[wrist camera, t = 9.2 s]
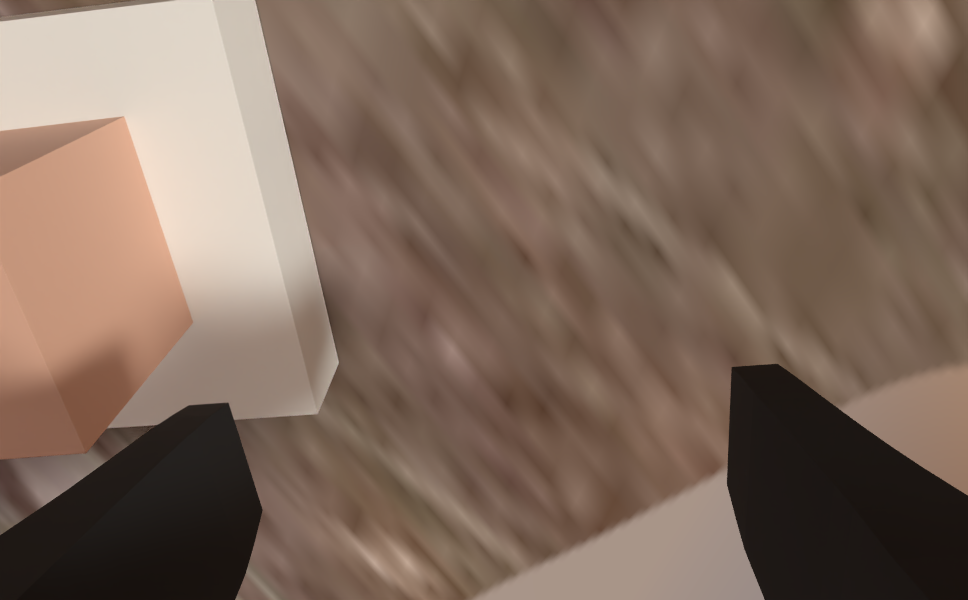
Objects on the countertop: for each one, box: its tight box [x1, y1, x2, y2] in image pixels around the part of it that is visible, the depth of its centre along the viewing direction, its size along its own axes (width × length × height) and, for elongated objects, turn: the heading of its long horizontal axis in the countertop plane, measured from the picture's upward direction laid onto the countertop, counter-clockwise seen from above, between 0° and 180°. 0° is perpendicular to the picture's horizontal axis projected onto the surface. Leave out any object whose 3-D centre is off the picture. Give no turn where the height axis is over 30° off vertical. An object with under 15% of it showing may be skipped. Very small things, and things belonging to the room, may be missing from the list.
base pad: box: [0, 0, 339, 428], centre depth 19 cm, size 10×10×2 cm
